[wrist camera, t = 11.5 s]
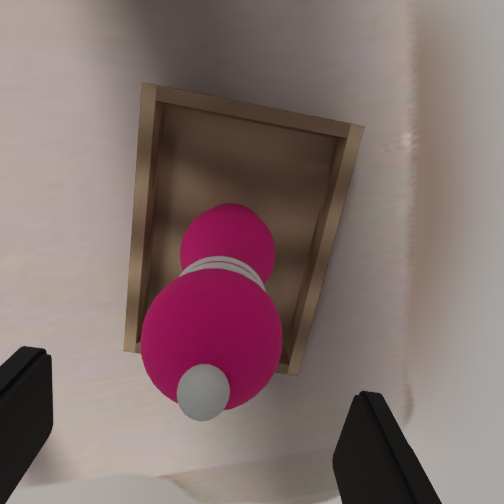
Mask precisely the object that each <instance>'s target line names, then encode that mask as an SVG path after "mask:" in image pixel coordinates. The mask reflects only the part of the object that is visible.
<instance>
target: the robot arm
mask: <svg viewBox="0 0 504 504" xmlns="http://www.w3.org/2000/svg"><path fill="white" fill-rule="evenodd" d="M52 427H53V394H52V358H51V355H48V354H47V353H46V350H45V349H42V348H35V347H27V346H23V347H21V348H19V349H18V350H17V351H16V352H15V353H14V354H13V355H12V356H11V357H10V358H9V359H8V360H7V361H5V362H4V363H3V364H2V365H1V366H0V504H5V503H6V502H7V500H8V499H9V497H10V495H11V494H12V492H13V491H14V489H15V488H16V486H17V485H18V483H19V482H20V480H21V479H22V477H23V476H24V474H25V472H26V471H27V469H28V468H29V466H30V465H31V463H32V462H33V460H34V459H35V457H36V456H37V454H38V453H39V451H40V449H41V448H42V446H43V445H44V443H45V442H46V440H47V439H48V437H49V435H50V433H51V431H52ZM333 470H334V474H335V477H336V481H337V485H338V489H339V492H340V496H341V500H342V504H442V503H441V501H440V499H439V498H438V496H437V494H436V492H435V490H434V488H433V486H432V484H431V483H430V481H429V479H428V477H427V475H426V473H425V472H424V470H423V468H422V466H421V464H420V462H419V460H418V458H417V457H416V455H415V453H414V451H413V449H412V448H411V447H410V445H409V444H408V442H407V440H406V439H405V437H404V435H403V433H402V431H401V429H400V427H399V425H398V424H397V422H396V420H395V418H394V416H393V414H392V412H391V410H390V409H389V407H388V405H387V403H386V401H385V399H384V397H383V396H382V394H380V393H375V392H367V391H361V392H360V394H359V395H355V396H354V398H353V401H352V404H351V407H350V409H349V412H348V415H347V418H346V421H345V424H344V426H343V429H342V432H341V435H340V438H339V440H338V443H337V446H336V449H335V452H334V454H333Z"/></svg>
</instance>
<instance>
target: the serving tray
mask: <svg viewBox="0 0 504 504" xmlns="http://www.w3.org/2000/svg"><path fill="white" fill-rule="evenodd" d="M364 127H365V126H360V125H355V124H350V123H345V122H340V121H335V120H330V119H325V118H320V117H315V116H310V115H305V114H300V113H295V112H290V111H285V110H280V109H275V108H270V107H265V106H260V105H255V104H250V103H245V102H240V101H234V100H229V99H224V98H219V97H214V96H209V95H204V94H199V93H194V92H189V91H184V90H179V89H174V88H169V87H164V86H159V85H154V84H149V83H144V82H142V89H141V104H140V118H139V133H138V147H137V162H136V177H135V191H134V206H133V221H132V235H131V250H130V264H129V279H128V294H127V308H126V323H125V338H124V351H126V352H133V353H140V354H141V342H140V340H141V332H142V326H143V322H144V319H145V316H146V314H147V312H148V309H149V307H150V306H151V304H152V302H153V300H154V299H155V298H156V296H157V295H158V294H159V293H160V292H161V291H162V290H163V289H164V287H165V286H167V285H168V284H169V283H171V282H172V281H173V280H174V279H176V278H178V277H179V276H180V275H181V273H182V272H183V271H182V267H181V261H180V246H181V243H182V239H183V236H184V234H185V232H186V230H187V228H188V226H189V225H190V223H191V222H192V221H193V220H194V219H195V218H196V217H198V216H199V215H200V214H201V213H203V212H205V211H207V210H209V209H212V208H213V207H216V206H218V205H221V204H227V203H233V204H240V205H243V206H245V207H247V208H249V209H251V210H252V211H253V212H254V213H256V214H257V216H258V217H259V218H260V219H261V220H262V221H263V222H264V223H265V224H266V226H267V227H268V228H269V230H270V232H271V234H272V237H273V240H274V244H275V262H274V267H273V270H272V273H271V275H270V277H269V278H268V280H267V281H266V283H265V284H264V287H265V290H266V293H267V294H268V295H269V296H270V297H271V299H272V301H273V303H274V305H275V307H276V309H277V311H278V314H279V318H280V321H281V325H282V350H281V355H280V360H279V363H278V366H277V368H276V370H275V372H276V373H283V374H290V375H297V376H298V373H299V369H300V365H301V362H302V358H303V354H304V350H305V347H306V343H307V339H308V335H309V332H310V328H311V324H312V321H313V317H314V313H315V309H316V306H317V302H318V298H319V294H320V291H321V287H322V283H323V280H324V276H325V272H326V268H327V265H328V261H329V257H330V254H331V250H332V246H333V242H334V239H335V235H336V231H337V227H338V224H339V220H340V216H341V213H342V209H343V205H344V201H345V198H346V194H347V190H348V186H349V183H350V179H351V175H352V172H353V168H354V164H355V160H356V157H357V153H358V149H359V146H360V142H361V138H362V134H363V131H364Z"/></svg>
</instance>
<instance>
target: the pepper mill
mask: <svg viewBox="0 0 504 504" xmlns="http://www.w3.org/2000/svg"><path fill="white" fill-rule="evenodd" d="M180 261H181V267H182V271H183V272H182V273H181V275H180V276H179V277H178V278H176V279H174V280H173V281H172V282H171V283H169V284H168V285H167V286H165V287H164V289H163V290H162V291H161V292H160V293H159V294H158V295H157V296H156V298H155V299H154V300H153V302H152V304H151V306H150V307H149V309H148V312H147V314H146V316H145V319H144V322H143V326H142V332H141V340H140V342H141V355H142V359H143V363H144V366H145V369H146V372H147V374H148V375H149V377H150V379H151V380H152V382H153V384H154V385H155V386H156V387H157V388H158V389H159V390H160V391H161V392H162V393H163V394H164V395H165V396H167V397H168V398H170V399H171V400H173V401H174V402H176V403H178V404H179V407H180V408H181V410H182V411H183V413H184V414H185V415H187V416H188V417H190V418H192V419H193V420H197V421H207V420H210V419H212V418H214V417H216V416H218V415H219V414H220V413H221V412H222V411H223V410H228V409H232V408H235V407H237V406H239V405H242V404H244V403H245V402H247V401H248V400H250V399H251V398H253V397H254V396H256V395H257V394H258V393H259V392H260V391H261V390H262V389H263V388H264V387H265V386H266V385H267V383H268V382H269V380H270V379H271V378H272V376H273V375H274V373H275V370H276V368H277V366H278V363H279V360H280V355H281V350H282V325H281V321H280V318H279V314H278V311H277V309H276V307H275V305H274V303H273V301H272V299H271V297H270V296H269V295H268V294H267V293H266V290H265V287H264V284H265V283H266V281H267V280H268V278H269V277H270V275H271V273H272V270H273V267H274V262H275V244H274V240H273V237H272V234H271V232H270V230H269V228H268V227H267V226H266V224H265V223H264V222H263V221H262V220H261V219H260V218H259V217H258V216H257V214H256V213H254V212H253V211H252V210H251V209H249V208H247V207H245V206H243V205H240V204H233V203H227V204H221V205H218V206H216V207H213V208H212V209H209V210H207V211H205V212H203V213H201V214H200V215H199V216H198V217H196V218H195V219H194V220H193V221H192V222H191V223H190V225H189V226H188V228H187V230H186V232H185V234H184V236H183V239H182V243H181V246H180Z"/></svg>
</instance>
